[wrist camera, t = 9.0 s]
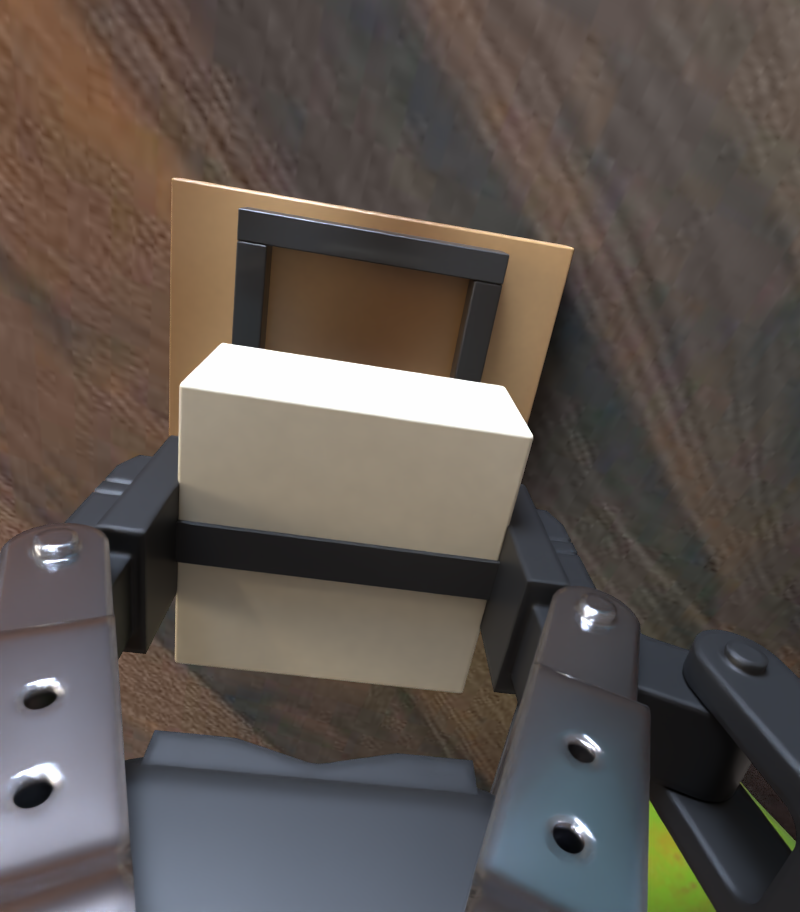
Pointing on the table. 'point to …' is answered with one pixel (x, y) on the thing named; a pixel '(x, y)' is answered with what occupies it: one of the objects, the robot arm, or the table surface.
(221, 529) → the ivory pad
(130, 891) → the robot arm
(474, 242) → the base pad
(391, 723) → the table surface
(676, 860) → the apple
